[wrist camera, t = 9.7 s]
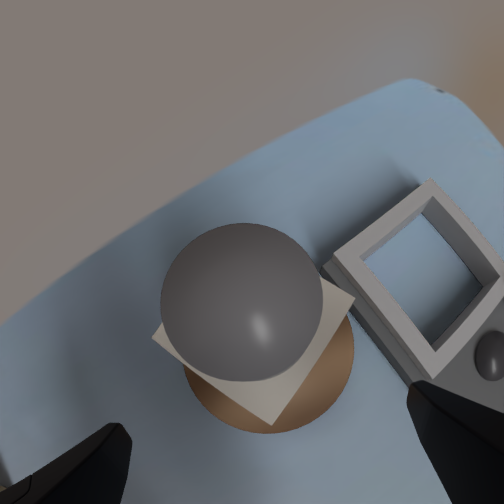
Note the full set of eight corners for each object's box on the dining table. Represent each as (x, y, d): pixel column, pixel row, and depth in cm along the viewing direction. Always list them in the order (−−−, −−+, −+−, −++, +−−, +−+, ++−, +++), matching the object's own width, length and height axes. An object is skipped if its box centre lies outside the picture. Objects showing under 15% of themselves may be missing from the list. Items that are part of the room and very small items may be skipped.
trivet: (381, 363, 20) (387, 362, 18) (246, 460, 18) (244, 464, 17) (285, 243, 24) (285, 235, 23) (159, 328, 22) (153, 325, 21)
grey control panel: (557, 372, 16) (576, 369, 14) (475, 481, 15) (492, 488, 12) (425, 190, 24) (435, 172, 22) (319, 273, 22) (323, 260, 20)
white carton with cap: (323, 337, 20) (378, 267, 8) (278, 403, 18) (265, 443, 6) (257, 296, 21) (219, 178, 9) (213, 359, 20) (108, 320, 8)
